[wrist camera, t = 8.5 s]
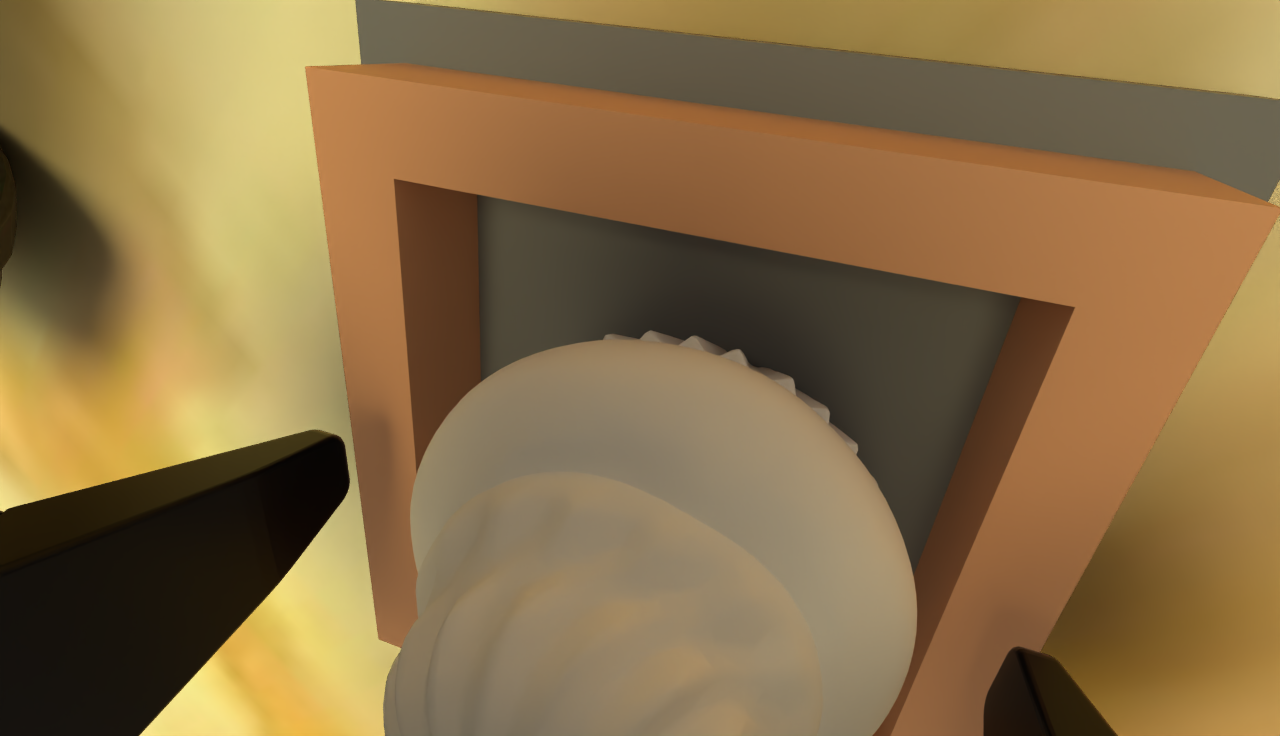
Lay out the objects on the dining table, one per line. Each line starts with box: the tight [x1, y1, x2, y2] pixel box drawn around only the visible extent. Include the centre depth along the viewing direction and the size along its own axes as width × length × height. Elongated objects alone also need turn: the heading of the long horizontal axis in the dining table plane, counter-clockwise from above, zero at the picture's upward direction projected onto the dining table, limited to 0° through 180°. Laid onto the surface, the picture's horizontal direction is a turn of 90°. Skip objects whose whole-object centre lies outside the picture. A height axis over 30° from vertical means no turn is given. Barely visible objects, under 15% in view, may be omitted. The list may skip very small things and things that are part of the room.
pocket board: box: [305, 0, 1280, 736], centre depth 11 cm, size 12×12×4 cm
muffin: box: [383, 330, 917, 736], centre depth 8 cm, size 6×6×7 cm
